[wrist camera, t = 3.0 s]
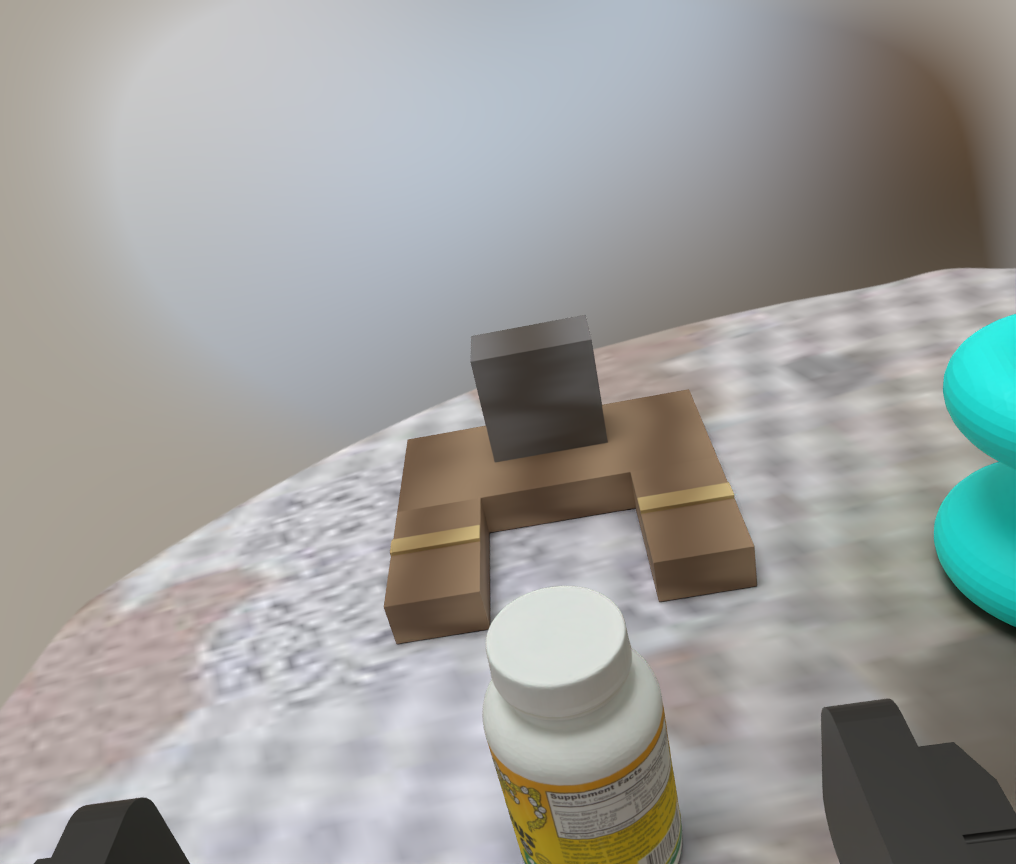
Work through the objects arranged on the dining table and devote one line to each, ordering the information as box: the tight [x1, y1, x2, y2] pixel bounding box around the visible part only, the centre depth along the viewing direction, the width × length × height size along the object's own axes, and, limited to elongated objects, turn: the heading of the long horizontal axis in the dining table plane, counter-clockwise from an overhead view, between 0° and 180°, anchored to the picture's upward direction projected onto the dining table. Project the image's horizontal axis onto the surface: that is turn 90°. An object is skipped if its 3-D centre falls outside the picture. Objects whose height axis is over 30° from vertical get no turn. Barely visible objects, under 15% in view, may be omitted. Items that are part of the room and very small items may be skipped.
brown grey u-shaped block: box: [384, 315, 757, 644], centre depth 43 cm, size 16×14×8 cm
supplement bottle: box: [483, 586, 682, 864], centre depth 27 cm, size 5×5×10 cm
